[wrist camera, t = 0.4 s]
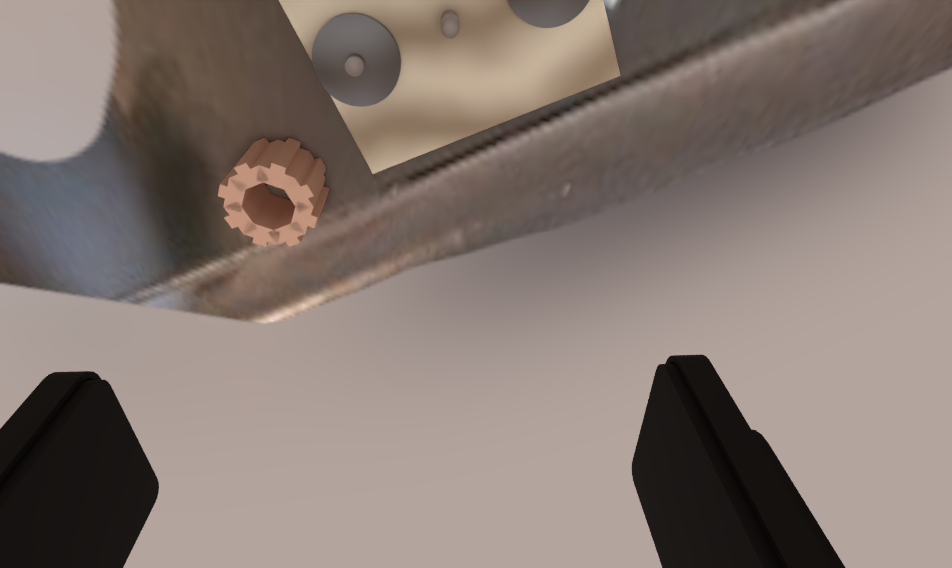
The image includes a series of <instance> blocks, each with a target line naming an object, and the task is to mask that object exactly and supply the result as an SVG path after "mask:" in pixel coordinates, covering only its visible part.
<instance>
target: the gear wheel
mask: <svg viewBox="0 0 952 568" xmlns="http://www.w3.org/2000/svg"><path fill="white" fill-rule="evenodd" d="M300 146H301V142H300V141H297V140H295V139H292V138H289V137H288V139H287V140H286V142H283V141H281V140H278V139H277V140H275V141H273V142H270V143H269V142H268V140H267V139H266V137H265V138H262V139H260V140H258V141H255V142H254V143H253V144H252V146H251V147H250V148H249V149H248V151H247V152H246V153H245V154H244V156H243V157H241V159H240V160H239V161H238V162H237V164H236V165H235V166H234V167H233V169H232V170H231V171H230V172H229V174H228V175H227V176H226V177H225V179H224V180H223V181H222V183H221V184H220V188H219V193H218V196H219V197H222V198H225V202H224V208H225V210H226V211H227V212H228V213H227V214H226V215H225V217H224V218H225V220H226V221H227V222H228V224H229V225H230V226H231V228H235V227H237V226H238V227H239V229H240V230H241V231H242V233H243V234H245V235H248V236H251V237H254V239H253V243H255V244H258V245H261V246H265V247H266V246H267V244H268V242H270V243H273V244H276V245H278V244H281V243H283V242H286V243H287V245H288V246H289V247H290V246H292V245H295V244H298V243H300V242H301V240H302V238H303V235H304V234H306V231H307V229H308V227H312V228H315V225H316V223H317V220H318V218H319V215H320V213H321V210H322V208H323V206H324V203H325V201H326V198H327V195H328V191H329V188H327V187H324V183H325V179H326V178H325V176H324V173H325V170H326V166H325V165H324V163H323V161H322V160H321V158H320V157H319V158H317V159H315V160H314V158H313V156H312V155H311V153H310V151H308V150H305V149H302V148H300ZM264 183H266V184H269V185H272V186H275V187H278V188H281V189H284V190H285V192H286V193H287V195H288V196H289V198H290V199H291V200H288V199H285V198H282V197H279V196H276V195H273V194H271V193H270V191H269V190H268V188H267V187H266V185H265V184H264Z"/></svg>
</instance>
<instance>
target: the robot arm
mask: <svg viewBox="0 0 952 568" xmlns="http://www.w3.org/2000/svg"><path fill="white" fill-rule="evenodd" d="M632 476H633V481H634V484H635V487H636V490H637V493H638V496H639V499H640V502H641V505H642V508H643V511H644V514H645V517H646V520H647V523H648V526H649V529H650V532H651V535H652V538H653V541H654V544H655V547H656V550H657V553H658V556H659V559H660V562H661V565H662V568H845V566H844V565H843V563H842V561H841V560H840V558H839V557H838V555H837V553H836V552H835V550H834V549H833V547H832V545H831V544H830V542H829V540H828V539H827V537H826V536H825V534H824V533H823V531H822V529H821V528H820V526H819V524H818V523H817V521H816V520H815V518H814V516H813V515H812V513H811V511H810V510H809V508H808V507H807V505H806V503H805V502H804V500H803V498H802V497H801V495H800V494H799V492H798V490H797V489H796V487H795V486H794V484H793V482H792V481H791V479H790V477H789V476H788V474H787V473H786V471H785V470H784V468H783V466H782V465H781V463H780V461H779V460H778V458H777V456H776V455H775V453H774V452H773V450H772V448H771V447H770V445H769V444H768V442H767V441H766V440H765V438H764V437H763V436H762V435H761V434H760V433H759V432H757V431H756V430H751V428H750V427H749V425H748V423H747V422H746V420H745V419H744V417H743V415H742V413H741V412H740V410H739V409H738V407H737V405H736V404H735V402H734V400H733V399H732V397H731V396H730V394H729V392H728V390H727V389H726V387H725V385H724V384H723V382H722V380H721V379H720V377H719V375H718V374H717V372H716V370H715V369H714V367H713V365H712V364H711V362H710V361H709V359H708V358H707V357H706V356H704V355H678V356H670V357H669V358H668V359H667V361H666V364H660V365H658V367H657V369H656V372H655V376H654V380H653V384H652V388H651V392H650V396H649V399H648V404H647V407H646V412H645V415H644V419H643V423H642V426H641V430H640V435H639V438H638V442H637V446H636V450H635V453H634V457H633V461H632ZM158 490H159V485H158V479H157V477H156V475H155V473H154V471H153V469H152V467H151V465H150V463H149V461H148V459H147V457H146V455H145V453H144V451H143V449H142V447H141V445H140V443H139V441H138V439H137V437H136V435H135V433H134V431H133V429H132V427H131V425H130V423H129V421H128V419H127V418H126V415H125V414H124V411H123V409H122V407H121V405H120V403H119V401H118V399H117V397H116V395H115V393H114V391H113V390H112V387H111V385H110V384H109V383H108V382H107V381H106V380H101V378H100V377H99V376H98V374H96V373H94V372H90V371H89V372H88V371H87V372H86V371H84V372H54V373H52V374H49V375H48V376H47V377H46V378H45V379H43V380H42V382H41V383H40V384H39V385H38V386H37V387H36V388H35V390H34V391H33V392H32V393H31V394H30V395H29V397H28V398H27V399H26V400H25V401H24V402H23V403H22V405H21V406H20V407H19V408H18V409H17V410H16V411H15V413H14V414H13V415H12V416H11V417H10V418H9V420H8V421H7V422H6V423H5V424H4V425H3V427H2V428H1V429H0V568H123V567H124V565H125V563H126V560H127V558H128V556H129V554H130V552H131V550H132V548H133V546H134V544H135V542H136V540H137V538H138V536H139V534H140V532H141V530H142V528H143V526H144V524H145V522H146V520H147V518H148V516H149V514H150V512H151V510H152V508H153V506H154V504H155V502H156V499H157V495H158Z"/></svg>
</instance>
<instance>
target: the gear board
mask: <svg viewBox="0 0 952 568" xmlns="http://www.w3.org/2000/svg"><path fill="white" fill-rule="evenodd" d="M279 2H280V4H281V5H282V7H283V9H284V11H285V13H286V15H287V16H288V18H289V20H290V22H291V24H292V26H293V27H294V29H295V31H296V33H297V35H298V37H299V39H300V40H301V42H302V44H303V46H304V48H305V50H306V51H307V53H308V55H309V57H310V59H311V61H312V64H313V69H314V72H315V74H316V77H317V79H318V81H319V82H320V84H321V85H322V87H323V88H324V89H325V90H326V91H327V92H328V93H329V94H330V96H331V97H332V99H333V101H334V103H335V105H336V107H337V109H338V110H339V112H340V114H341V116H342V118H343V120H344V121H345V123H346V125H347V127H348V129H349V131H350V132H351V134H352V136H353V138H354V140H355V142H356V144H357V145H358V147H359V149H360V151H361V153H362V155H363V156H364V158H365V160H366V162H367V164H368V166H369V167H370V169H371V171H372V173H373V174H374V173H377V172H379V171H382V170H384V169H387V168H389V167H392V166H394V165H397V164H399V163H402V162H404V161H407V160H409V159H412V158H414V157H417V156H419V155H422V154H424V153H427V152H430V151H432V150H435V149H437V148H440V147H442V146H445V145H447V144H450V143H452V142H455V141H457V140H460V139H462V138H465V137H467V136H470V135H472V134H475V133H477V132H480V131H482V130H485V129H487V128H490V127H492V126H495V125H498V124H500V123H503V122H505V121H508V120H510V119H513V118H515V117H518V116H520V115H523V114H525V113H528V112H530V111H533V110H535V109H538V108H540V107H543V106H545V105H548V104H550V103H553V102H555V101H558V100H560V99H563V98H565V97H568V96H571V95H573V94H576V93H578V92H581V91H583V90H586V89H588V88H591V87H593V86H596V85H598V84H601V83H603V82H606V81H608V80H611V79H613V78H616V77H618V76H620V72H619V68H618V63H617V59H616V54H615V50H614V46H613V41H612V37H611V32H610V28H609V24H608V19H607V15H606V10H605V6H604V1H603V0H279Z"/></svg>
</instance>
